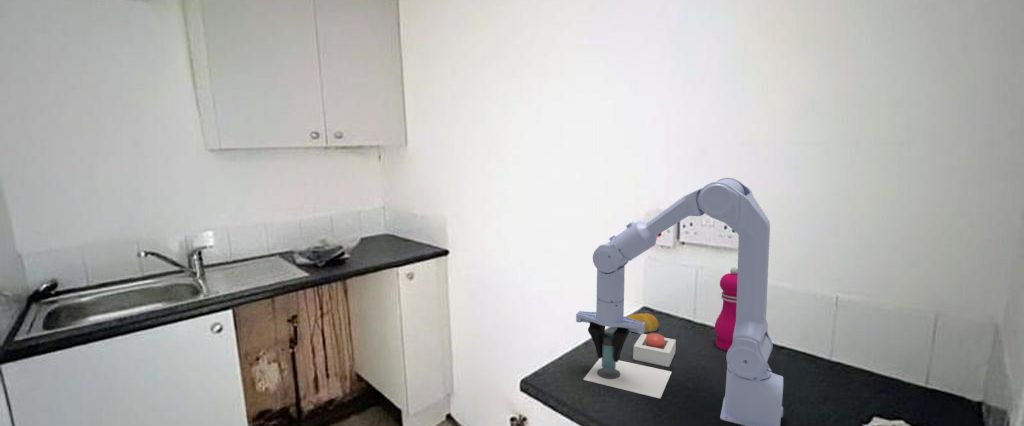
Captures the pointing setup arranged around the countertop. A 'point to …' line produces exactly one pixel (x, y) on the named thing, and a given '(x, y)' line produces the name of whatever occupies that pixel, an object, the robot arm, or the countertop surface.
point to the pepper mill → (727, 310)
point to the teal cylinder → (608, 351)
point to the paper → (631, 378)
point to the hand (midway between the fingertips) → (608, 358)
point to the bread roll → (646, 321)
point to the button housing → (654, 351)
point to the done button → (655, 340)
